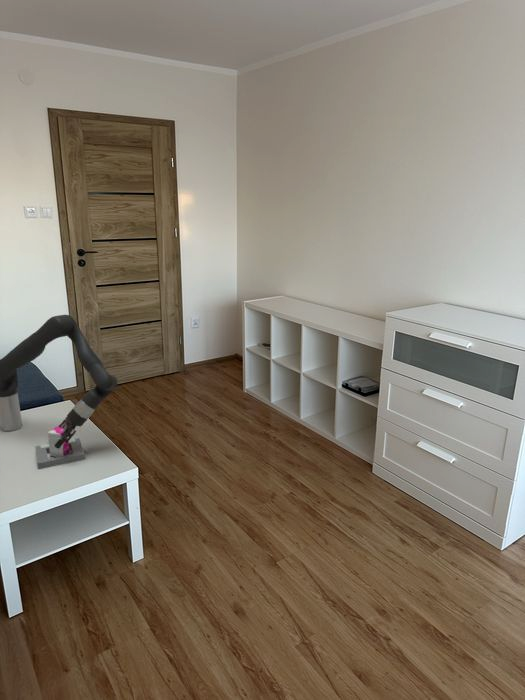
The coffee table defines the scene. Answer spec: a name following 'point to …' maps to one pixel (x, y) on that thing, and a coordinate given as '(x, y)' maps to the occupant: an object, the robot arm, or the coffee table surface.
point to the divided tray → (45, 462)
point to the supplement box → (53, 438)
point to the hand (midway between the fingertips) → (55, 443)
